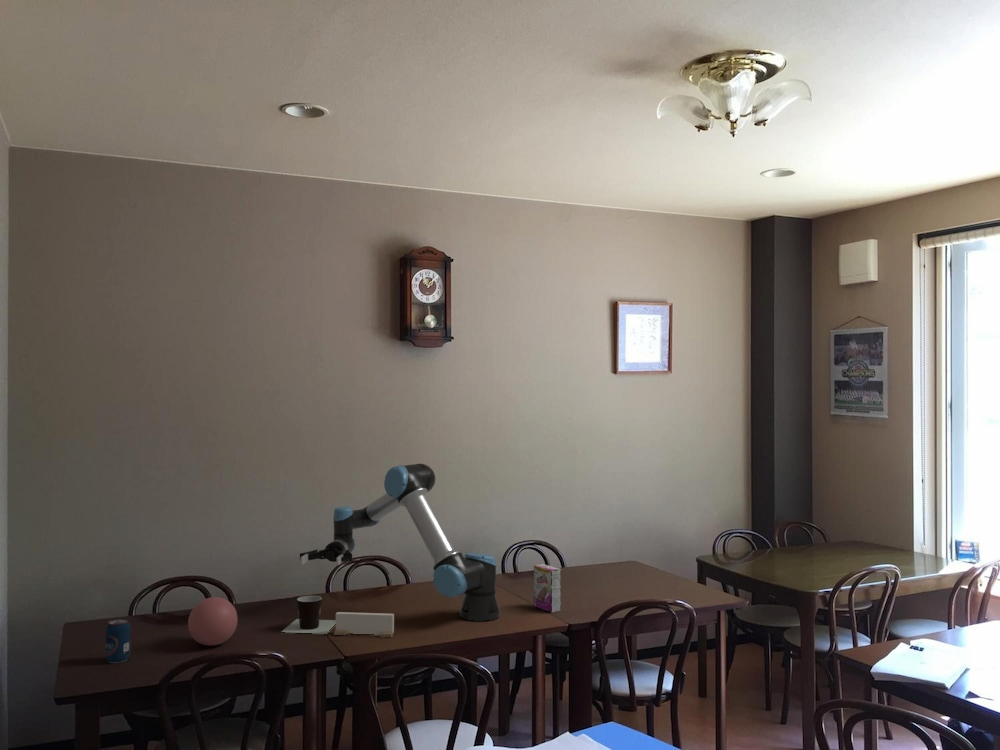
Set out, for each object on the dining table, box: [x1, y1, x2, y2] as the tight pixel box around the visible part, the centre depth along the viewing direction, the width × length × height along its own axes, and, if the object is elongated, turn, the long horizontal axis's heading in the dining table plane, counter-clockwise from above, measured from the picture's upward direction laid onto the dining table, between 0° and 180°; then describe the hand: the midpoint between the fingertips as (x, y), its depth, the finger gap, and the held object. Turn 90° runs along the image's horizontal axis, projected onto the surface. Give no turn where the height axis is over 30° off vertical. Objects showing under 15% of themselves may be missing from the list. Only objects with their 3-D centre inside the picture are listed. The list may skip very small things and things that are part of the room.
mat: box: [281, 618, 336, 635], centre depth 288 cm, size 16×16×1 cm
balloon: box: [187, 596, 239, 647], centre depth 270 cm, size 15×20×15 cm
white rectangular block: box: [333, 611, 395, 638], centre depth 279 cm, size 20×4×7 cm, turn 85°
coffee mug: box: [296, 595, 323, 630], centre depth 288 cm, size 12×9×10 cm
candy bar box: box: [533, 563, 562, 614], centre depth 314 cm, size 11×5×16 cm, turn 37°
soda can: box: [104, 618, 131, 664], centre depth 252 cm, size 7×7×12 cm
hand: (319, 561), depth 298 cm, fingers open, 13 cm apart
